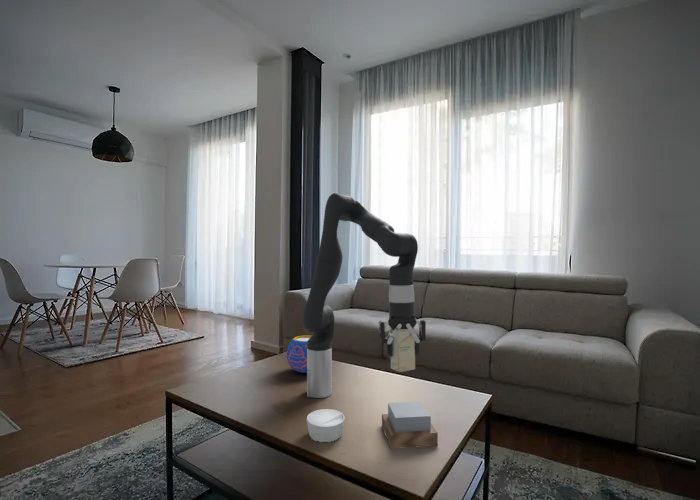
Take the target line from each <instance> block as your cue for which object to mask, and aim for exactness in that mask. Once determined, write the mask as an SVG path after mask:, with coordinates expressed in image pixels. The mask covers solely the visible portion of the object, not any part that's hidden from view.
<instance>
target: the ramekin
mask: <svg viewBox="0 0 700 500" xmlns="http://www.w3.org/2000/svg"><path fill="white" fill-rule="evenodd" d="M345 420H346V418H345V415H344V414H343V412H341V411H339V410H336V409H332V408H331V409H330V408H325V409H324V408H321V409H317V410H314V411H312V412H310V413H308V415H307V417H306V424H307V429H308V435H309V437H310V438H311V440H313V441H315V442H317V441H319V442H318V443H322V442H328V443H331V441H333V442H335V441H337V440H339V439H340V438H341V436H342V435H343V430H344V425H345V424H344V423H345ZM338 438H339V439H338ZM334 440H335V441H334Z"/></svg>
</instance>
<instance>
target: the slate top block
mask: <svg viewBox="0 0 700 500" xmlns="http://www.w3.org/2000/svg"><path fill="white" fill-rule="evenodd" d="M387 412H388V413H387V414H388V417H389V419H390V421H391V423H392V426H393V428H394V430H395V432H411V431H430V430H431V424H432V422H431V421H432V420H431V418H432V417H431V415H430V413H429V412H428V410H427V408H426V407H425V406H424V404H423V403H422V402H421V400H420V401H419V400H418V401H399V402H388V403H387Z"/></svg>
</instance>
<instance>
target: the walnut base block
mask: <svg viewBox="0 0 700 500" xmlns="http://www.w3.org/2000/svg"><path fill="white" fill-rule="evenodd" d="M381 427H382V429H383V432H384V434H385V436H386V438H387V441H388V445H390V448H391V449H401V447H402V448H403V447H405V448H417V447H416V446H420V447H430V446H431V447H435V446H434V445H436V446H438V445H439V444H438V439H439V438H438V437H439V436H438V435H439V434H438V431H437V429H436V428H435V427H434V425H433V424H432V423H431V430H430V431H411V432H395V430H394V428H393V426H392V423H391V421H390V419H389V417H388V413H381ZM403 449H404V448H403Z"/></svg>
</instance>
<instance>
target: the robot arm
mask: <svg viewBox="0 0 700 500" xmlns="http://www.w3.org/2000/svg"><path fill="white" fill-rule="evenodd" d="M340 221H341V222H351V223H354V224H356V225H358V226H359V227H360V229H361V231H362V232H363V234H364V235H365V236H366V237H367V238H369V239H371V240H372V241H374V242H375V243H376V244H377V245H378V246H379V248H380V249H381V250H382V252H383V253H385V254H386V255H388V256H390V257H393V258H395V257H396V258H397V257H398V261H397V263H396V264H394V265H391V266H390V268H389V273H388V275H389V276H388V277H389V288H388V289H389V290H388V304H389V305H388V313H389V315H388V317H389V318H388V320H385V321H382V320H379V321H378V331H379V332H378V334H379V337H378V338H379V340H380V342H381V343H384V344H385V353H386V355H387V356H388V357H389V358H391V357H392V344H391V342H392V341H393V339H394V338H395V334H394V333H395V330H397V329H398V330H400V329H408V330H409V332H410V333H411V335H412V337H413V338H414V340H415V357H416V356H418V355H419V354H420V343H421V342H424V341H425V340H426V337H427V335H426V332H427V331H426V330H427V329H426V327H427V326H426V325H427V324H426V323H427V322H426V320H424V319H422V318H420V319H416V316H415V315H416V314H415V313H416V311H415V309H416V306H415V289H414V268H415V264H416V260H417V255H418V249H419V245H418V241H417V238H416V237H415V236H414V234H412V233H405V232H395V229H394V227H393V226H392V225H391V224H389V223H388V222H386V220H383V219H381V218H379V217H378V216H376V215H374V214H373V213H371V212H370V211H369V210H368V209H367V208H365V206H363V205H362V203H361V202H359V200H358V199H356V198H355V197H354V196H351V195H347V194H343V193H342V194H341V193H337V192H335V193H332V194H331V193H330V195H329V196H328V198H327V200H326V204H325V208H324V217H323V225H322V232H321V233H322V234H321V239H320V244H319V249H318V253H317V257H316V262H315V268H314V273H313V277H312V282H311V286H310V290H309V294H308V297H307V300H306V303H305V306H304V310H303V314H302V323H303V326H304V328H305V329H306V330H307V332H312V334H311V335H312V336H311V338H310V339H309V340H308V341H307V373H306V397H307V398H313V399H314V398H315V399H324V398H327V397H330V396H331V395H332V393H333V389H332V388H333V387H332V385H333V384H332V383H333V382H332V379H333V378H332V377H333V376H332V375H333V372H332V368H333V367H332V364H333V363H332V361H333V360H332V359H333V358H332V355H333V354H332V352H333V351H332V350H333V349H332V347H333V346H332V344H333V341H334V339H335V338H334V337H335V314H334V311H333V309H332V307H331V306H330V305H328V304H326V300H327V296H329V295H328V294H329V292H330V291H331V289H332V288H333V286H334V285H335V283H336V282H337V280H338V278H339V276H340V273H341V268H342V265H343V257H344V256H343V251H342V247H341V245H340V241H339V237H338V229H339V222H340ZM416 325H417V327H419V329H418V335H417V333H416V332H414V330H415V326H416ZM388 326H389V328H392V330H394V331H393V333H390V331H388V335H387V336H386V332H385V331H386V329H387V327H388ZM413 328H414V330H413Z"/></svg>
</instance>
